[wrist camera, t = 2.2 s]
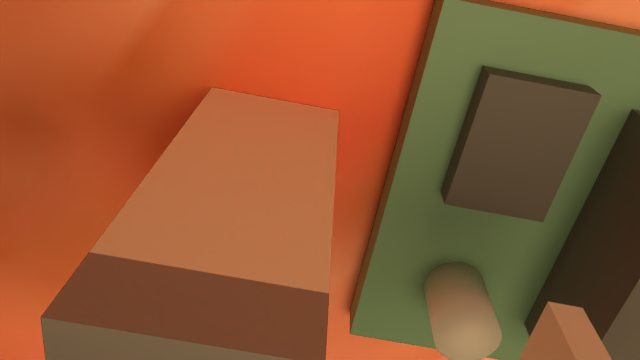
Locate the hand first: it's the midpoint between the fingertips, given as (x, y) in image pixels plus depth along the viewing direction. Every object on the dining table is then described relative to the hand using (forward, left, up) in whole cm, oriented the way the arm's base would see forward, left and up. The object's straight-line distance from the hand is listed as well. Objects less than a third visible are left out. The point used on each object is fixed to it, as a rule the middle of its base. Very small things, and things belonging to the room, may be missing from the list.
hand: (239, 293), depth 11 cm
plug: (0, 0, -7) cm, 7 cm away
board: (+12, 0, -7) cm, 13 cm away
